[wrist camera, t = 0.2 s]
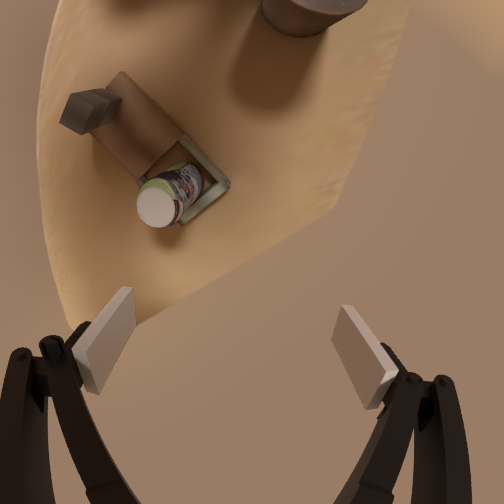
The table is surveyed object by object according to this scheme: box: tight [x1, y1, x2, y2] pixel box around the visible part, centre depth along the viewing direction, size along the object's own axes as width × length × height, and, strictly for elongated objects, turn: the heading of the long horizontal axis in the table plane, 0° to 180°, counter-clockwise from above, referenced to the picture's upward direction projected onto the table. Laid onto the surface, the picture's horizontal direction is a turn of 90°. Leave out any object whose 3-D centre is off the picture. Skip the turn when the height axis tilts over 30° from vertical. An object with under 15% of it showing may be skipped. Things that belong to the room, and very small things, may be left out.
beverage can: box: [136, 162, 204, 228], centre depth 34 cm, size 6×7×12 cm
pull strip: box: [59, 71, 231, 226], centre depth 32 cm, size 10×24×10 cm, turn 38°
